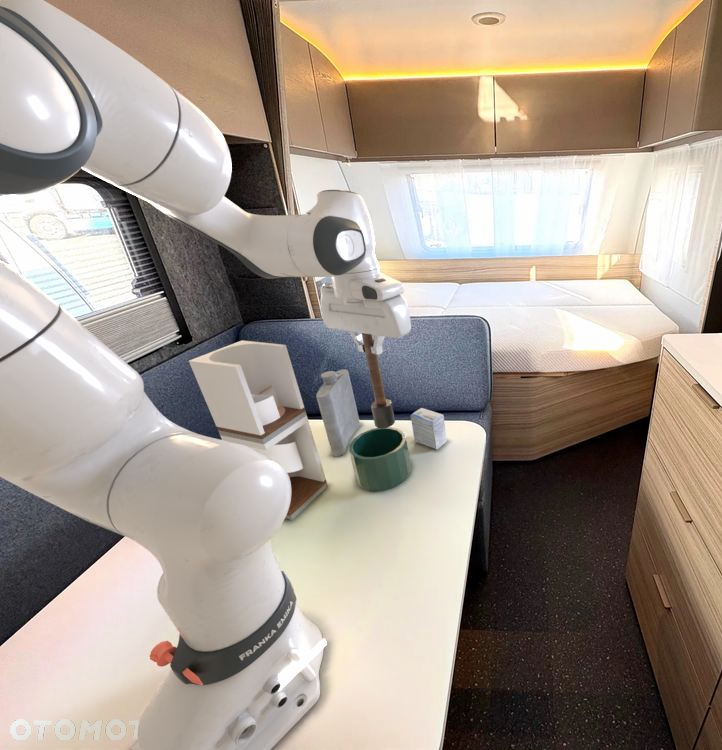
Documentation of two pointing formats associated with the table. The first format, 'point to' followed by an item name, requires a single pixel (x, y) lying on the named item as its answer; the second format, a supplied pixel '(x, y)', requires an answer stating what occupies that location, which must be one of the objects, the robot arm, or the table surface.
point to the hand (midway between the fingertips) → (371, 352)
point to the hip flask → (338, 409)
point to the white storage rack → (263, 411)
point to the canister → (380, 458)
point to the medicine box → (429, 428)
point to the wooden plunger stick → (378, 388)
